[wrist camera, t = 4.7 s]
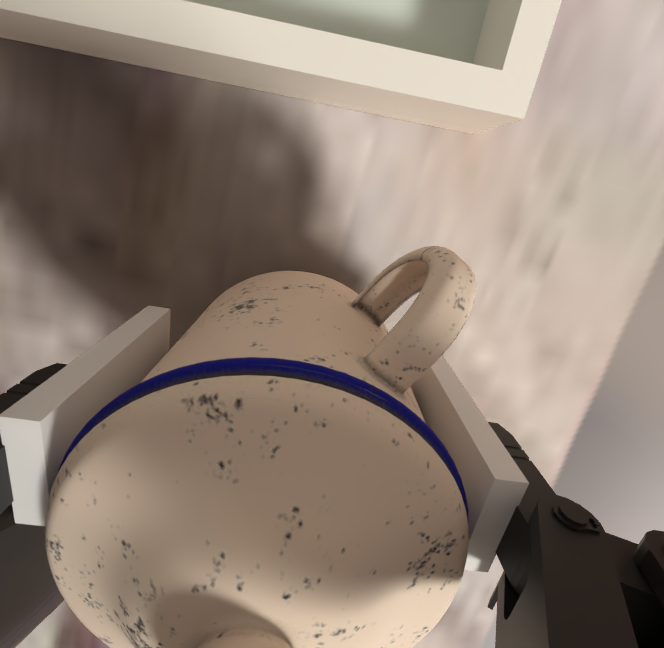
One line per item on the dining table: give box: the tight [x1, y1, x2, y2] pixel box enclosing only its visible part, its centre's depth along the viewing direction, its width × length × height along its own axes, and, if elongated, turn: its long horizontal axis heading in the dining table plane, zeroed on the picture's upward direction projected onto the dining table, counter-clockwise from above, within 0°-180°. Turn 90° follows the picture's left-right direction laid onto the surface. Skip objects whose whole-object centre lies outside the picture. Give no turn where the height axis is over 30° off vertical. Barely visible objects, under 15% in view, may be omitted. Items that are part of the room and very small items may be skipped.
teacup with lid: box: [45, 246, 476, 648], centre depth 11 cm, size 12×9×12 cm
